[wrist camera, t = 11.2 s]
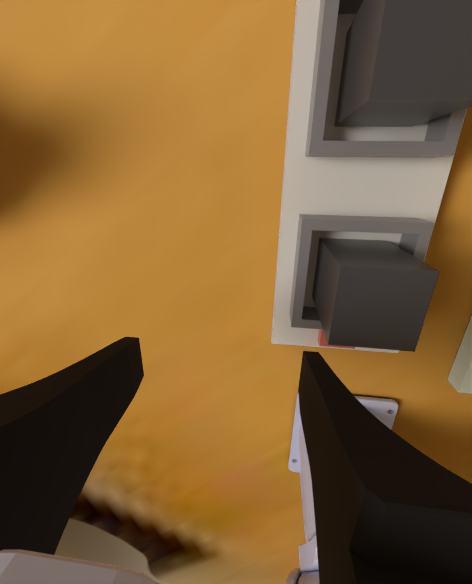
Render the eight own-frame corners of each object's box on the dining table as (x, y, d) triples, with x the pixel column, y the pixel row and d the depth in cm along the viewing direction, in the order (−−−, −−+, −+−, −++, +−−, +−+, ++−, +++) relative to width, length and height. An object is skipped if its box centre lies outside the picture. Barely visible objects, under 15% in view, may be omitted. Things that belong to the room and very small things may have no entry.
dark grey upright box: (411, 126, 15) (493, 98, 9) (334, 126, 15) (368, 99, 10) (433, 29, 13) (545, -71, 8) (346, 32, 14) (395, -62, 8)
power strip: (391, 344, 21) (445, 420, 15) (271, 335, 22) (271, 402, 16) (502, -71, 13) (750, -334, 6) (300, -57, 14) (326, -273, 7)
